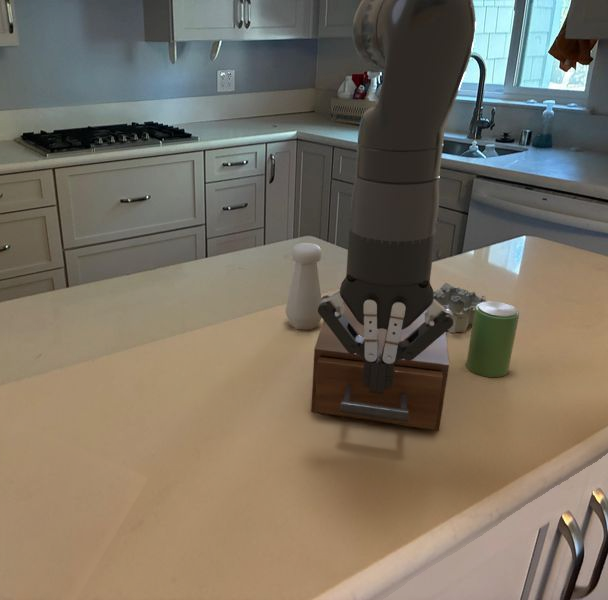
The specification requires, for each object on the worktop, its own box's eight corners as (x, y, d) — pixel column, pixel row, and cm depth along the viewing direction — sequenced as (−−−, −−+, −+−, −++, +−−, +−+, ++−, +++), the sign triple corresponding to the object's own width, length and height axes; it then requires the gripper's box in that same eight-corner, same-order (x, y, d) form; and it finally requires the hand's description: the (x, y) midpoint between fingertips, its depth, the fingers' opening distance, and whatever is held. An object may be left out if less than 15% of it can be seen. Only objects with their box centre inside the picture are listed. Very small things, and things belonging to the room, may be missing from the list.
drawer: (436, 455, 65) (444, 400, 62) (308, 435, 68) (311, 382, 66) (432, 366, 81) (438, 320, 79) (330, 354, 85) (332, 309, 83)
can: (505, 360, 84) (516, 302, 81) (510, 379, 80) (522, 318, 76) (464, 356, 86) (474, 298, 82) (467, 374, 81) (477, 314, 78)
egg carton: (460, 337, 91) (464, 312, 89) (413, 322, 96) (416, 298, 94) (488, 313, 98) (492, 290, 96) (442, 301, 103) (446, 278, 101)
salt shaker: (296, 313, 100) (299, 236, 95) (328, 321, 97) (333, 243, 92) (278, 326, 96) (280, 247, 90) (311, 335, 93) (315, 254, 87)
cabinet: (439, 430, 70) (449, 365, 67) (311, 411, 74) (314, 348, 71) (435, 365, 84) (443, 307, 80) (327, 352, 88) (330, 296, 84)
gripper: (312, 233, 54) (305, 400, 61) (474, 242, 50) (447, 420, 57) (323, 210, 60) (316, 364, 67) (467, 217, 57) (444, 379, 64)
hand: (377, 389), depth 62 cm, fingers closed
